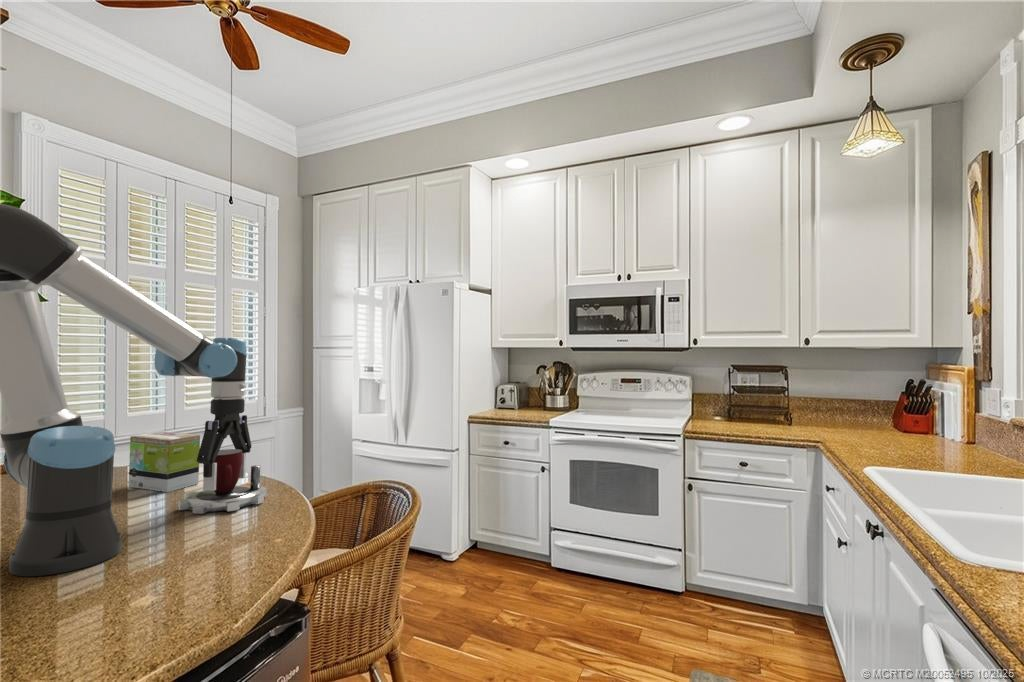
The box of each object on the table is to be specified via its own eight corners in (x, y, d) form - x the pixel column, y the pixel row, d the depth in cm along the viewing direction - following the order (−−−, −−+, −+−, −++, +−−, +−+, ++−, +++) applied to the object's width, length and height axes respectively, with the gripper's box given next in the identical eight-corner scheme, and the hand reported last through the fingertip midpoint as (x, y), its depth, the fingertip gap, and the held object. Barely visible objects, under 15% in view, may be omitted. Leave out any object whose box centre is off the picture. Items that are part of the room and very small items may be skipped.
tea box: (126, 488, 136) (128, 435, 137) (161, 480, 146) (163, 430, 146) (166, 493, 132) (168, 438, 133) (200, 484, 142) (201, 433, 142)
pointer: (250, 492, 134) (250, 483, 134) (245, 492, 134) (246, 483, 134) (253, 490, 135) (253, 481, 135) (249, 490, 135) (249, 481, 135)
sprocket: (175, 518, 110) (177, 483, 110) (180, 497, 126) (181, 466, 127) (270, 506, 120) (271, 473, 120) (263, 488, 137) (264, 459, 137)
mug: (250, 492, 123) (250, 453, 123) (214, 499, 117) (214, 458, 117) (235, 485, 130) (236, 447, 130) (201, 491, 124) (201, 452, 124)
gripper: (212, 402, 112) (209, 497, 111) (267, 394, 136) (264, 473, 135) (180, 401, 112) (177, 496, 112) (240, 394, 136) (238, 472, 135)
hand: (225, 483), depth 123 cm, fingers open, 11 cm apart
